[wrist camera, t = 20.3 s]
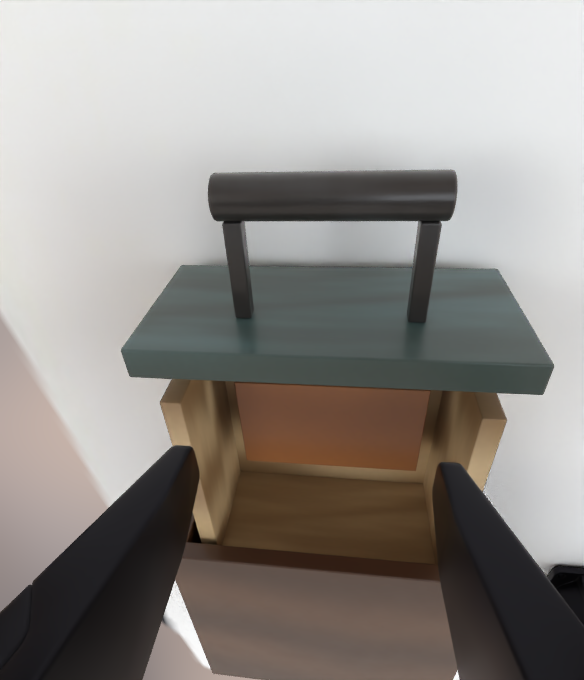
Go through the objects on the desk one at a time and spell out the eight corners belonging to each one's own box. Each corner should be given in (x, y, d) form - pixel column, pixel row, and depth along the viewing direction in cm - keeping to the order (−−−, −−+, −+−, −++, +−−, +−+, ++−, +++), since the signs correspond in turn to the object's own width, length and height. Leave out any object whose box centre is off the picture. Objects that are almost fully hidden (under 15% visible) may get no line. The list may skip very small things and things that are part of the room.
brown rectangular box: (410, 431, 22) (416, 471, 20) (255, 422, 23) (246, 460, 21) (423, 352, 19) (431, 390, 17) (245, 346, 20) (233, 382, 18)
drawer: (156, 146, 17) (68, 200, 11) (531, 137, 15) (623, 196, 10) (222, 462, 27) (192, 563, 22) (445, 477, 26) (467, 589, 21)
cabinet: (211, 426, 27) (165, 556, 20) (459, 440, 25) (497, 587, 18) (238, 553, 35) (212, 673, 29) (425, 570, 33) (442, 702, 27)
